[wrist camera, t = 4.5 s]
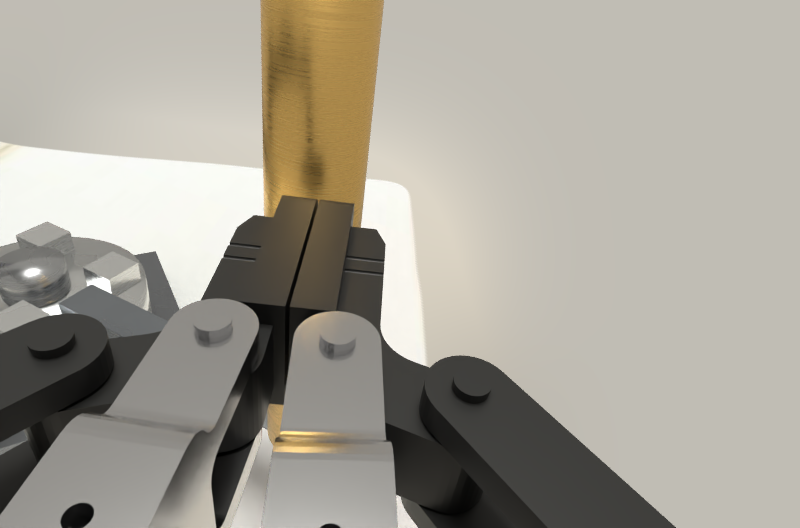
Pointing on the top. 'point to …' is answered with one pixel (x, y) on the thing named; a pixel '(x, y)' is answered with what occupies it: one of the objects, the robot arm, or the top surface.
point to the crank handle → (282, 157)
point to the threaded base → (157, 306)
